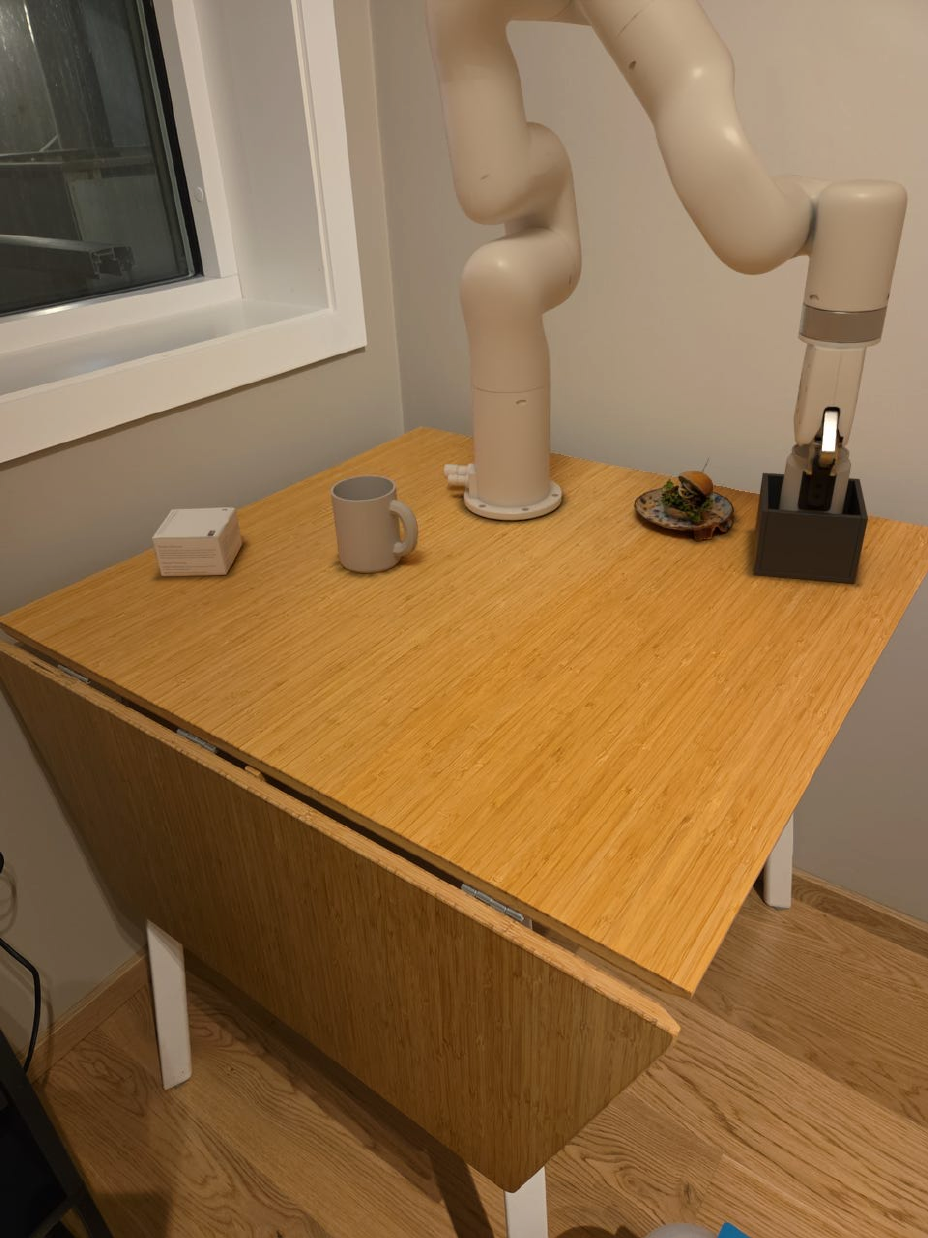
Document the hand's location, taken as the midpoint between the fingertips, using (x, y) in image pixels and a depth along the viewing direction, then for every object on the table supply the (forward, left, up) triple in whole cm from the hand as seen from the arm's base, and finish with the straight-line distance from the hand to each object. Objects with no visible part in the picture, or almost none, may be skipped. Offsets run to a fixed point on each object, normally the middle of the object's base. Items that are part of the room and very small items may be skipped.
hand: (812, 493), depth 96 cm
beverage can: (0, 0, -7) cm, 7 cm away
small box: (-67, -14, -8) cm, 69 cm away
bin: (0, 0, -8) cm, 8 cm away
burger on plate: (-13, +7, -8) cm, 17 cm away
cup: (-46, -10, -8) cm, 48 cm away
